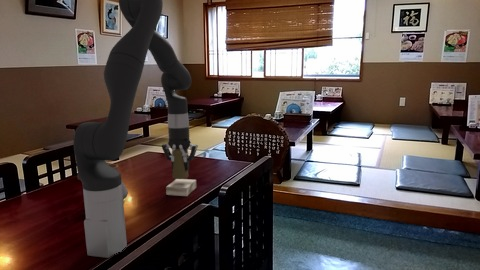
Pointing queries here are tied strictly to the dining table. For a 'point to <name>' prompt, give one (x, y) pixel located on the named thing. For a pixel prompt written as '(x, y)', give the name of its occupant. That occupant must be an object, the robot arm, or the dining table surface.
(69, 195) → the dining table surface
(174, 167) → the cork
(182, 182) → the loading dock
